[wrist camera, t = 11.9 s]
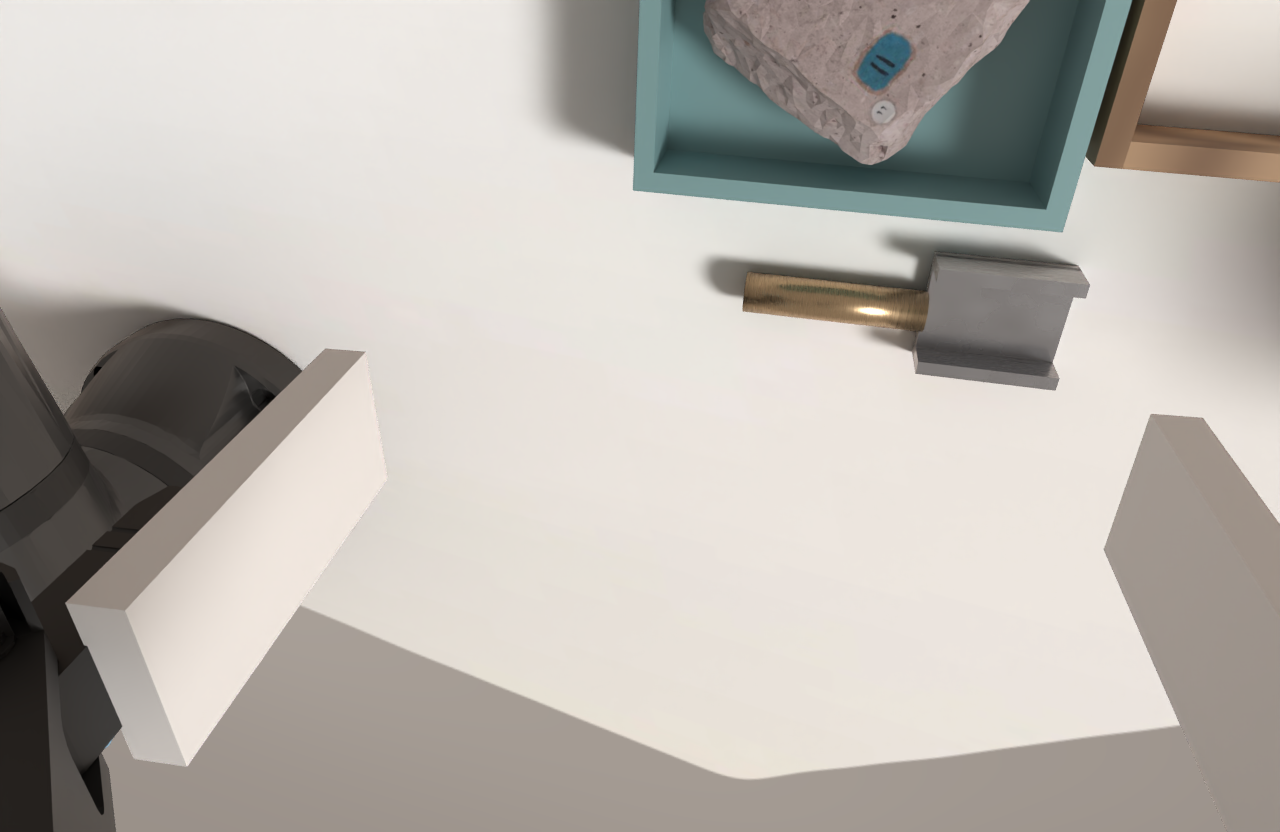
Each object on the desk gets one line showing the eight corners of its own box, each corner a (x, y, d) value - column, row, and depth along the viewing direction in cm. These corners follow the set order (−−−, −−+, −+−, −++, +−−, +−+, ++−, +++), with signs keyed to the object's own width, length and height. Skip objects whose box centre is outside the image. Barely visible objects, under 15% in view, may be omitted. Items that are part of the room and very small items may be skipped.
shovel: (741, 332, 43) (737, 351, 41) (752, 232, 40) (748, 249, 39) (1046, 368, 41) (1055, 390, 39) (1078, 265, 38) (1089, 285, 37)
